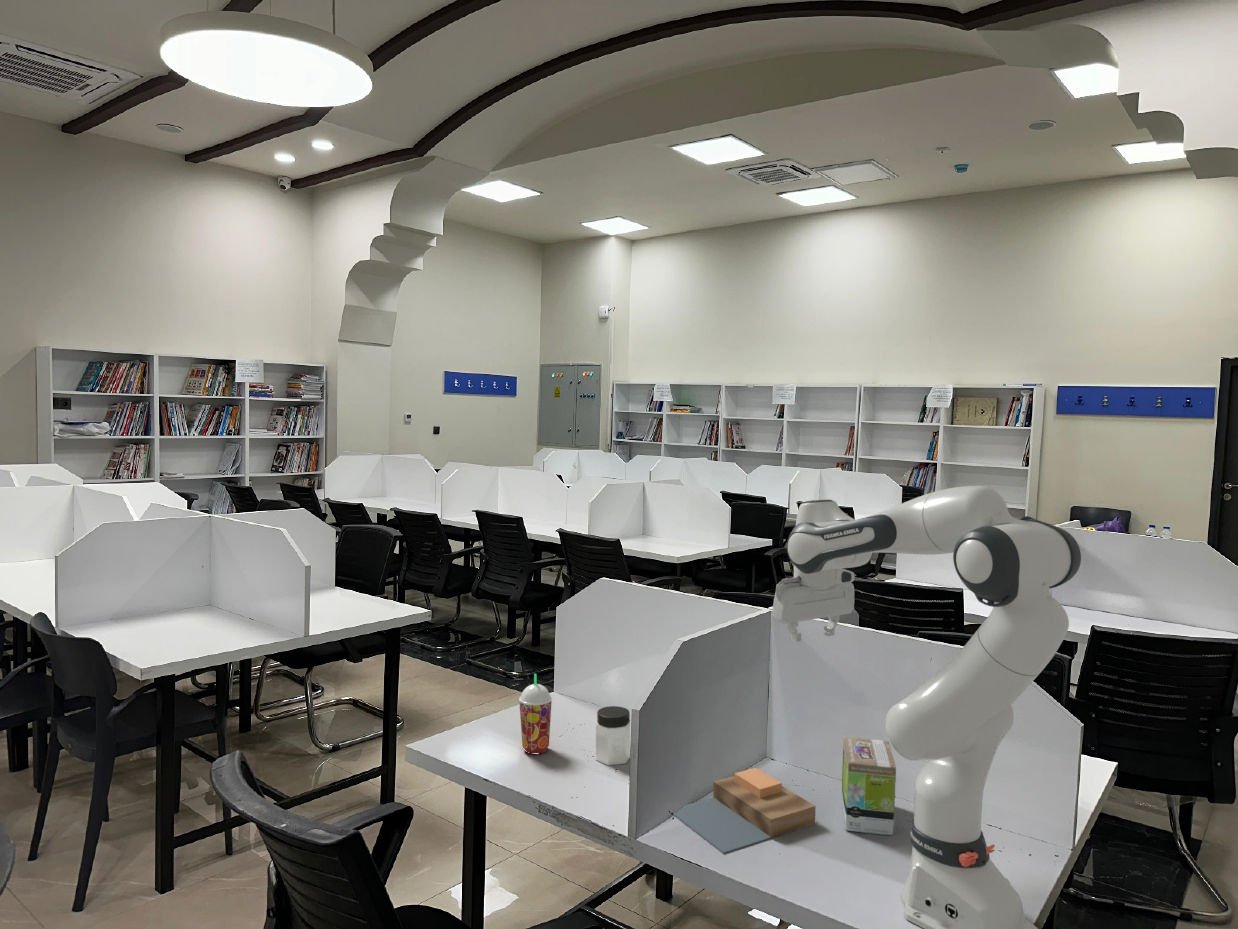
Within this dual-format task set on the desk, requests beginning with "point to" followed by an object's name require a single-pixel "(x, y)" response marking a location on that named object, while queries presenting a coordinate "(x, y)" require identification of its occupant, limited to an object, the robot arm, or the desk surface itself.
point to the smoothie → (535, 717)
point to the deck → (766, 808)
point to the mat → (720, 825)
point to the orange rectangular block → (758, 782)
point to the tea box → (868, 786)
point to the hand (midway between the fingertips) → (812, 638)
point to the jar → (613, 735)
